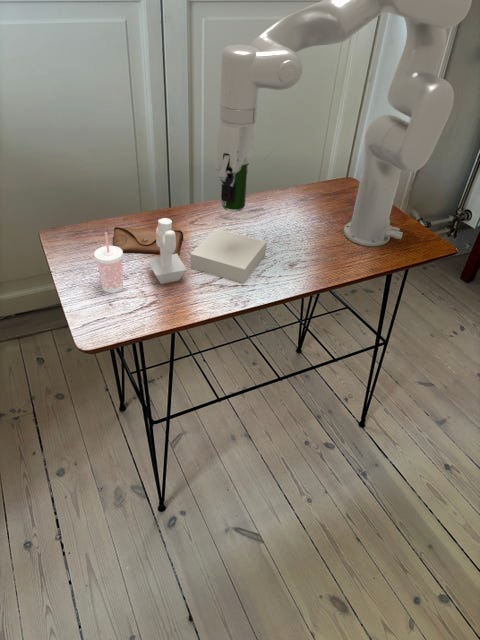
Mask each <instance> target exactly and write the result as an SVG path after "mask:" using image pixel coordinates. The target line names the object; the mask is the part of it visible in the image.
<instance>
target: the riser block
mask: <svg viewBox="0 0 480 640" xmlns="http://www.w3.org/2000/svg"><path fill="white" fill-rule="evenodd" d="M266 251H267V241H265V240H262V239H259V238H255V237H251V236H246V235H243V234H240V233H235V232H231V231H228V230H225V229H220V228H217V227H216V228H214V230H213V231H211V233H210V234H208V235H207V236H206V237H205V238H204V239H203V241H201V243H200V244H198V246H196V248H195V249H193V251H192V252H190V257H189V258H190V269H193V270H197V271H201V272H203V273H207V274H210V275H213V276H216V277H221V278H224V279H227V280H230V281H234V282H237V283H241V284H245V282H246V281H247V280H248V278H249V277H250V276H251V274H253V272H254V271H255V270H256V268H257V267H258V265H259V264H260V263H261V261H262V260H263V259H264V258H265V256H266Z"/></svg>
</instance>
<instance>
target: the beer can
mask: <svg viewBox="0 0 480 640" xmlns="http://www.w3.org/2000/svg"><path fill="white" fill-rule="evenodd" d="M248 166H249V164H248V160H247V158H246V159H245V160H244V163H243V164H242V167H241V170H240V171H239V172H237V173H236V179H235V184H234V185H235V186H236V197H235V202H234V203H230V202H226V201H223V200H221V207H222V208H223V210H225V211H227V212H231V213H237V212H241V211H243V210H244V208H245V206H246V199H247V198H246V197H247V186H248V185H247V181H248V173H247V170H248V171H249V167H248ZM228 170H230V171H232V168H228ZM227 175H228V177H230V179H231V177H232V174H228V173H227Z"/></svg>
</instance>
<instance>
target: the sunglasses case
mask: <svg viewBox="0 0 480 640" xmlns="http://www.w3.org/2000/svg"><path fill="white" fill-rule="evenodd" d="M171 230H172V231H174V232H175V235H176V249H175V251H174V253H172V254H178V256H179V257H180V256H181V249H182V245H183V241H184V233H183V232H182V231H181V230H177V229H175V230H173V229H171ZM112 246H117V247H119V248H121V249H122V251H123V254H147V255H160V247H158V246H157V244H156V229H155V228H154V229H153V228H152V229H151V228H129V227H128V228H127V227H121V226H119V227H117V226H115V227H114V229H113V240H112Z"/></svg>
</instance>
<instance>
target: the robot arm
mask: <svg viewBox="0 0 480 640" xmlns="http://www.w3.org/2000/svg"><path fill="white" fill-rule="evenodd" d="M472 3H473V2H472V0H321V1H319V2H316V3H314V4H311V5H308V6H306V7H304V8H302V9H299V10H298V11H295V12H293V13H291V14H289V15H286V16H285V17H283V18H281V19H279V20H278V21H276V22H275V23H273V24H272V25H271V26H269V27H268V28H267V29H265V30H264V31H263V32H262V33H260V34H259V35H258V36H256V37H255V38H254V40H252V42H251V43H250V44H230V45H227V46H225V47H224V49H223V50H222V53H221V63H220V64H221V68H220V69H221V70H220V75H221V76H220V102H219V103H220V105H219V122H220V124H219V128H218V135H217V141H216V151H215V169H216V170H217V171H219V172H218V176H217V177H218V178H219V179H220V184H221V195H220V196H221V197H220V198H221V199H220V200H221V201H222V200H223V201H226V202H230V203H234V202H235V197H236V186H235V185H234V184H235V179H236V173H237V172H239V171H240V170H241V167H242V164H243V163H244V160H245V159H246V158H247V160H248V165H250V162H251V161H252V159H253V154H254V153H253V151H254V139H255V138H254V134H255V133H254V131H255V130H254V129H255V128H254V127H255V125H256V123H257V113H258V100H259V90H260V89H269V90H276V91H283V90H288V89H290V88H293V87H294V86H295V85H296V84H298V82H299V81H300V79H301V77H302V74H303V63H302V59H301V58H300V57H299V55H298V54H297V53H298V52H300V51H301V50H302V51H303V50H304V49H308V48H312V47H317V46H328V45H329V46H330V45H335V44H340V43H344V42H345V41H347V40H349V39H350V38H351V37H353V36H354V35H355V34H357V33H358V32H359V31H360V30H362V29H363V28H364V27H365V26H367V25H368V24H369V23H371V22H372V21H373V20H376V18H378V17H379V16H380V15H382V14H384V13H389V14H392V15H396V16H399V17H402V18H403V19H404V22H405V26H406V40H405V43H404V44H405V45H404V47H403V50H402V53H401V56H400V58H399V61H398V64H397V67H396V70H395V72H394V75H393V77H392V80H391V83H390V85H389V89H388V92H387V102H388V104H389V105H390V106H391V108H393V109H394V110H395V111H396V112H397V111H398V112H399V113H401V114H403V115H405V116H407V117H408V118H410V120H409V121H406V120H404V119H402V118H400V117H398V116H396V115H392V114H382V115H380V116H379V115H378V117H376V118H374V119H373V120H372V121H371V123H369V126H368V127H367V129H366V133H365V135H364V156H363V164H362V171H361V175H360V180H359V184H358V189H357V193H356V194H357V195H356V198H355V203H354V209H353V212H352V217H351V220H350V221H349V222H348V223H346V224H345V225H344V227H343V234H344V237H346V238H347V239H348V240H350V242H353V243H354V244H355V243H356V244H357V245H361V246H366V247H380V246H383V245H385V244H387V243H388V242H389V241H390V239H391V238H393V239H397V240H402V237H403V233H404V232H403V231H401V230H400V228H399V227H395V226H392V225H390V224H391V220H390V215H391V212H392V209H393V205H394V201H395V197H396V194H397V188H398V186H399V183H400V179H401V178H400V177H401V171H403V172H406V173H413V172H416V171H419V170H420V169H421V168H423V167H424V166H425V164H427V162H428V161H429V159H430V157H431V156H432V154H433V152H434V150H435V147H436V146H437V144H438V142H439V139H440V138H441V135H442V133H443V130H444V128H445V126H446V123H447V122H448V120H449V117H450V116H451V112H452V110H453V108H454V107H453V106H454V101H455V100H454V99H455V93H454V89H453V86H452V85H451V84H450V82H448V81H447V80H446V79H444V78H442V77H440V76H437V71H438V68H439V66H440V63H441V61H442V57H443V55H444V52H445V48H446V43H447V42H446V41H447V29H451V28H453V27H455V26H457V25H459V24H460V23H461V22H462V21H463V20H464V19H465V18H466V16H467V15H468V13H469V12H470V9H471V6H472ZM228 168H232V171H230V170H228ZM227 173H228V174H232V177H231V179H230V177H228V175H227ZM247 174H249V169H248V170H247Z"/></svg>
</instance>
